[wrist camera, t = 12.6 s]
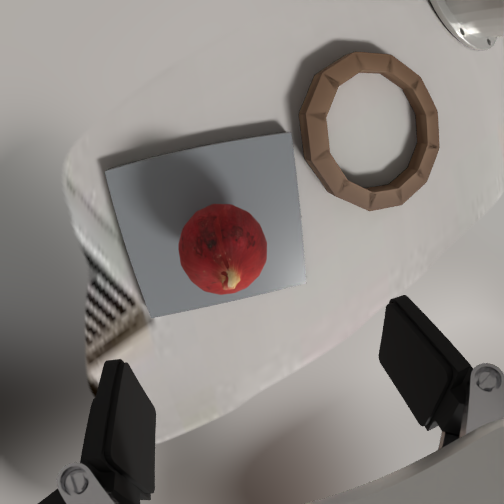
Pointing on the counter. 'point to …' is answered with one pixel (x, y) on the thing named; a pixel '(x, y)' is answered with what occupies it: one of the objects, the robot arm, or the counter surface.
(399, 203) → the ring holder
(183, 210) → the board
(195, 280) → the onion
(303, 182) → the counter surface
